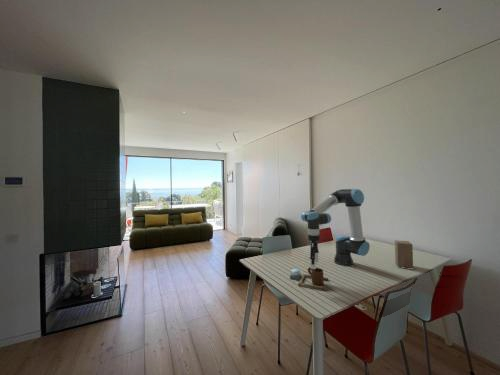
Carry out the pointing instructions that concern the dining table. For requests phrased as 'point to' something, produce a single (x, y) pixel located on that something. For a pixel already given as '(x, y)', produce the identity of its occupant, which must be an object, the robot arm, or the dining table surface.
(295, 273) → the dome
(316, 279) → the mug
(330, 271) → the dining table surface
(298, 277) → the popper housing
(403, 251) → the wooden block
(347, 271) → the dining table surface
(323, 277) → the bay
